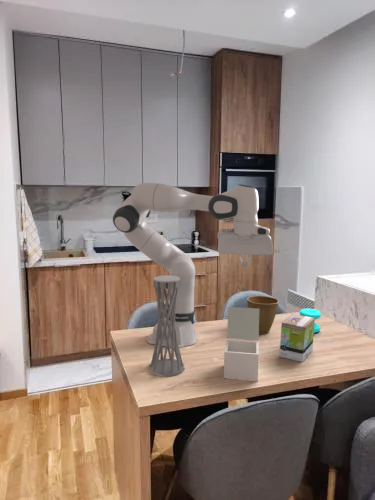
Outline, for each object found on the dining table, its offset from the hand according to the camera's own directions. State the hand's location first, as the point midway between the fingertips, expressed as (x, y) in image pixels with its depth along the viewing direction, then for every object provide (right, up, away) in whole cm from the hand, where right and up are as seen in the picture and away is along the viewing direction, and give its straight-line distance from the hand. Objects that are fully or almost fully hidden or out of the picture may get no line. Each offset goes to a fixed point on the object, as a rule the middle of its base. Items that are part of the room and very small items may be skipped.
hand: (244, 266), depth 143 cm
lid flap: (0, -22, +5) cm, 23 cm away
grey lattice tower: (-29, -39, +2) cm, 49 cm away
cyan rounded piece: (+38, -34, +45) cm, 68 cm away
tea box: (+24, -38, +17) cm, 48 cm away
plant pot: (+15, -34, +43) cm, 57 cm away
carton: (-1, -40, -1) cm, 40 cm away
